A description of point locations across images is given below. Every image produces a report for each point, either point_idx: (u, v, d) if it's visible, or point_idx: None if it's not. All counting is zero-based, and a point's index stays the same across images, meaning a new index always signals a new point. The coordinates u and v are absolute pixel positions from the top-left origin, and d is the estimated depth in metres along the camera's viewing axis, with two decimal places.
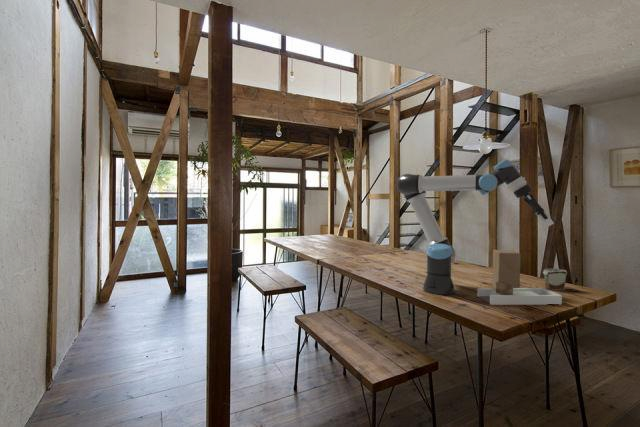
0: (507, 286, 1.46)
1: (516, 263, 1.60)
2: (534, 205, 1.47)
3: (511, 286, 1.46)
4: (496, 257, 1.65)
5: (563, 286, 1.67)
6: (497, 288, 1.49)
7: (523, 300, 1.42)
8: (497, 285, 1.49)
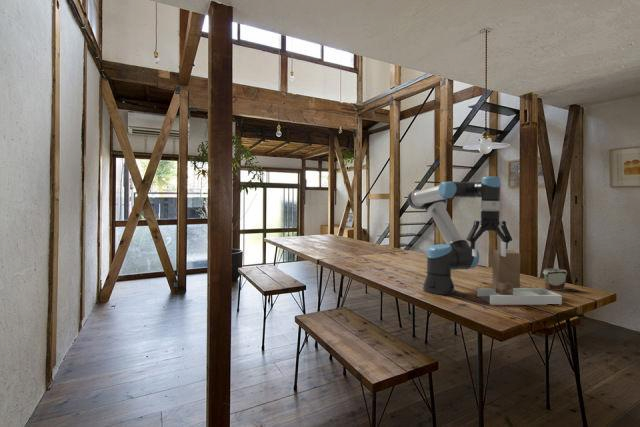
0: (507, 286, 1.46)
1: (516, 263, 1.60)
2: (470, 232, 1.47)
3: (511, 286, 1.46)
4: (496, 257, 1.65)
5: (563, 286, 1.67)
6: (497, 288, 1.49)
7: (523, 300, 1.42)
8: (497, 285, 1.49)
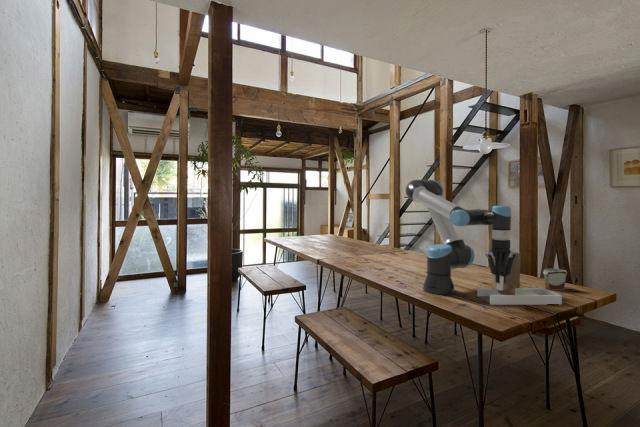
0: (509, 286, 1.46)
1: (516, 263, 1.60)
2: (490, 266, 1.48)
3: (513, 286, 1.46)
4: None
5: (563, 286, 1.67)
6: None
7: (523, 300, 1.42)
8: None
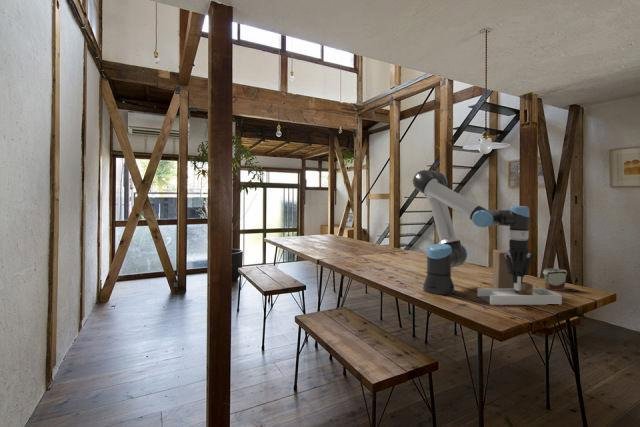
0: (527, 286, 1.46)
1: None
2: (507, 266, 1.48)
3: (531, 286, 1.46)
4: (497, 257, 1.65)
5: (563, 286, 1.67)
6: None
7: (523, 300, 1.42)
8: None
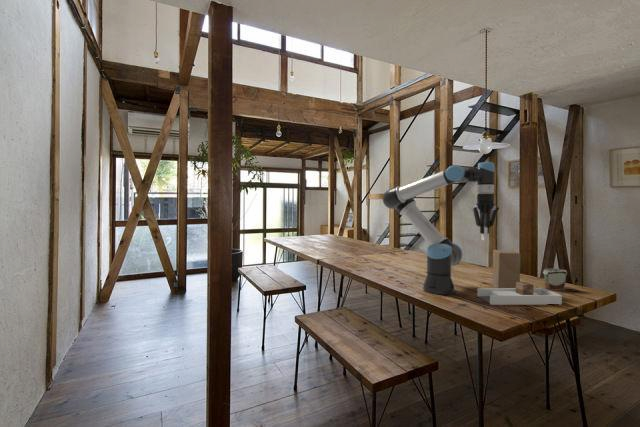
0: (527, 286, 1.46)
1: (516, 263, 1.60)
2: (475, 218, 1.61)
3: (531, 286, 1.46)
4: (497, 257, 1.65)
5: (563, 286, 1.67)
6: (517, 287, 1.50)
7: (523, 300, 1.42)
8: (517, 285, 1.50)
